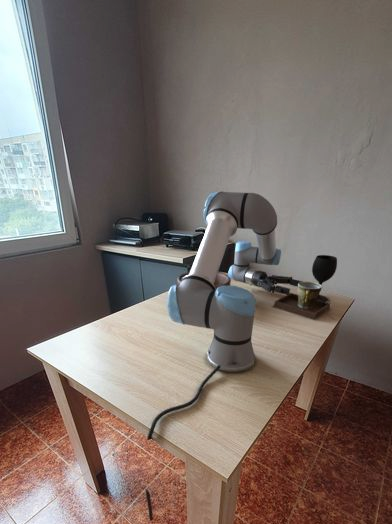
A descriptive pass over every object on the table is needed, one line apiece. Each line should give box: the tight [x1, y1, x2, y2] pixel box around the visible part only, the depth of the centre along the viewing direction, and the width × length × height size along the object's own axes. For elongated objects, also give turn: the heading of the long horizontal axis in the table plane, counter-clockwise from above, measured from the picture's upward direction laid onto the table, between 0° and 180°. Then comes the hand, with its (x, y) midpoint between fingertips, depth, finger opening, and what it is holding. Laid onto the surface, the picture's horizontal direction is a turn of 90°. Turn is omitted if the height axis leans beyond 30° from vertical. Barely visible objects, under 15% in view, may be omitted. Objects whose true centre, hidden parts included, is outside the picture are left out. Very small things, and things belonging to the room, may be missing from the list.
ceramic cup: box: [297, 281, 323, 309], centre depth 128 cm, size 13×10×10 cm
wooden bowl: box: [176, 271, 232, 289], centre depth 137 cm, size 25×25×10 cm
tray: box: [273, 292, 331, 321], centre depth 131 cm, size 16×20×3 cm
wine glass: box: [311, 254, 338, 303], centre depth 137 cm, size 10×10×20 cm
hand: (296, 288), depth 130 cm, fingers open, 13 cm apart
